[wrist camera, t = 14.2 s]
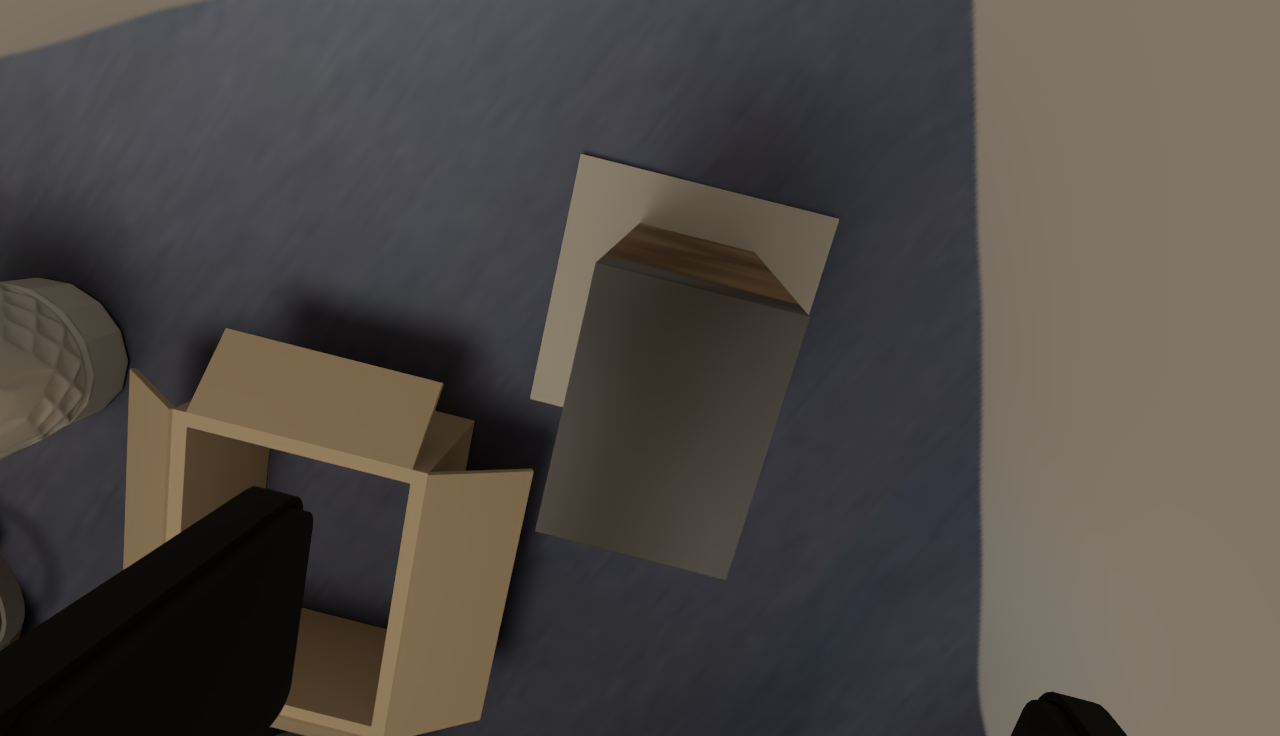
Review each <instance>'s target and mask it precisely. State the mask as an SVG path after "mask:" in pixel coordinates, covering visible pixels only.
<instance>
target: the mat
mask: <svg viewBox="0 0 1280 736" xmlns="http://www.w3.org/2000/svg"><path fill="white" fill-rule="evenodd" d="M838 222H839V219H838V218H834V217H830V216H826V215H822V214H818V213H814V212H810V211H806V210H802V209H798V208H794V207H790V206H786V205H782V204H778V203H774V202H770V201H766V200H762V199H758V198H754V197H750V196H747V195H743V194H739V193H735V192H731V191H727V190H723V189H719V188H715V187H711V186H707V185H703V184H699V183H695V182H691V181H687V180H683V179H679V178H675V177H671V176H667V175H663V174H659V173H655V172H651V171H647V170H643V169H640V168H636V167H632V166H628V165H624V164H620V163H616V162H612V161H608V160H604V159H600V158H596V157H592V156H588V155H584V154H581V156H580V161H579V165H578V170H577V175H576V180H575V185H574V190H573V194H572V199H571V204H570V209H569V214H568V218H567V223H566V228H565V233H564V238H563V242H562V247H561V252H560V257H559V262H558V267H557V271H556V276H555V281H554V286H553V291H552V295H551V300H550V305H549V310H548V315H547V319H546V324H545V329H544V334H543V339H542V344H541V348H540V353H539V358H538V363H537V368H536V372H535V377H534V382H533V387H532V392H531V397H530V399H533V400H537V401H541V402H545V403H548V404H552V405H556V406H560V407H563V405H564V401H565V396H566V392H567V387H568V383H569V378H570V374H571V370H572V365H573V361H574V356H575V352H576V347H577V343H578V339H579V334H580V330H581V325H582V321H583V316H584V312H585V308H586V303H587V299H588V294H589V290H590V285H591V281H592V276H593V272H594V268H595V263H596V262H597V261H598V260H599V259H600V258H601V257H602V256H603V255H605V254H606V253H607V252H608V251H609V250H610V249H611V248H612V247H613V246H615V245H616V244H617V243H618V242H619V241H620V240H621V239H622V238H623V237H625V236H626V235H627V234H628V233H629V232H630V231H631V230H632V229H633V228H635V227H636V226H637V225H638V224H639V223H642V224H646V225H650V226H654V227H658V228H662V229H666V230H670V231H674V232H678V233H681V234H685V235H689V236H693V237H697V238H701V239H705V240H709V241H713V242H717V243H721V244H725V245H728V246H732V247H736V248H740V249H744V250H748V251H752V252H755V253H756V254H757V255H758V257H759V258H760V259H761V260H762V261H763V262H764V264H765V265H766V266H767V267H768V268H769V269H770V271H771V272H772V273H773V274H774V275H775V276H776V278H777V279H778V280H779V281H780V282H781V283H782V285H783V286H784V287H785V288H786V289H787V290H788V292H789V293H790V294H791V295H792V296H793V297H794V299H795V300H796V301H797V302H798V303H799V305H800V306H801V307H802V308H803V309H804V310H805V312H806V313H807V314H808V315H809V313H810V310H811V307H812V304H813V301H814V298H815V294H816V291H817V288H818V285H819V282H820V279H821V276H822V272H823V269H824V266H825V263H826V260H827V257H828V254H829V250H830V247H831V244H832V241H833V238H834V235H835V232H836V228H837V225H838Z"/></svg>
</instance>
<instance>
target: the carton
mask: <svg viewBox="0 0 1280 736" xmlns="http://www.w3.org/2000/svg"><path fill="white" fill-rule="evenodd" d="M443 386H444V384H443V383H441V382H437V381H433V380H429V379H425V378H421V377H417V376H413V375H409V374H405V373H401V372H397V371H393V370H389V369H385V368H381V367H377V366H374V365H370V364H366V363H362V362H358V361H354V360H350V359H346V358H342V357H338V356H334V355H330V354H326V353H322V352H318V351H314V350H310V349H306V348H303V347H299V346H295V345H291V344H287V343H283V342H279V341H275V340H271V339H267V338H263V337H259V336H255V335H251V334H247V333H243V332H239V331H235V330H232V329H228V328H226V329H225V331H224V333H223V335H222V337H221V339H220V342H219V344H218V346H217V348H216V350H215V352H214V354H213V356H212V358H211V360H210V363H209V365H208V367H207V369H206V371H205V373H204V375H203V377H202V379H201V381H200V383H199V386H198V388H197V390H196V392H195V394H194V396H193V398H192V400H191V401H189V402H187V403H185V404H182V405H180V406H178V407H176V408H175V407H174V406H173V405H172V404H171V403H170V402H169V401H168V400H167V399H166V398H165V397H164V396H163V395H162V394H161V393H160V392H159V391H158V389H157V388H156V387H155V386H154V385H153V384H152V383H151V382H150V381H149V380H148V379H147V378H146V377H145V376H144V375H143V374H142V373H141V372H140V371H139V370H138V369H137V368H134V369H130V381H129V412H128V442H127V473H126V503H125V534H124V564H123V570H124V569H126V568H127V567H129V566H130V565H132V564H133V563H135V562H136V561H138V560H139V559H141V558H142V557H144V556H145V555H147V554H148V553H150V552H152V551H153V550H155V549H156V548H158V547H159V546H161V545H162V544H164V543H165V542H167V541H168V540H170V539H171V538H173V537H174V536H176V535H177V534H179V533H180V532H182V531H183V530H185V529H187V528H188V527H190V526H191V525H193V524H194V523H196V522H197V521H199V520H200V519H202V518H203V517H205V516H206V515H208V514H209V513H211V512H212V511H214V510H215V509H217V508H218V507H220V506H222V505H223V504H225V503H226V502H228V501H229V500H231V499H232V498H234V497H235V496H237V495H238V494H240V493H241V492H243V491H244V490H246V489H248V488H250V487H252V486H257V487H262V488H266V482H267V471H268V461H269V451H270V448H272V449H276V450H280V451H284V452H288V453H292V454H296V455H300V456H304V457H308V458H312V459H316V460H320V461H324V462H328V463H331V464H335V465H339V466H343V467H347V468H351V469H355V470H359V471H363V472H367V473H371V474H375V475H379V476H383V477H387V478H391V479H394V480H398V481H402V482H406V483H410V484H411V485H410V491H409V497H408V503H407V509H406V516H405V522H404V528H403V534H402V540H401V547H400V553H399V559H398V565H397V571H396V578H395V584H394V590H393V596H392V602H391V608H390V615H389V621H388V627H387V629H384V628H380V627H376V626H372V625H368V624H365V623H361V622H357V621H353V620H349V619H345V618H341V617H337V616H333V615H329V614H325V613H321V612H317V611H313V610H310V609H306V608H302V610H301V617H300V625H299V632H298V640H297V647H296V655H295V662H294V670H293V677H292V684H291V689H290V693H289V695H288V698H287V701H286V703H285V705H284V707H283V709H282V711H281V712H280V714H279V715H278V717H277V718H276V720H275V721H274V722H273V724H272V725H271V726H270V727H273V728H277V729H281V730H285V731H289V732H293V733H297V734H301V735H305V736H415V735H419V734H423V733H427V732H432V731H436V730H440V729H444V728H448V727H452V726H456V725H460V724H465V723H469V722H473V721H477V720H480V718H481V713H482V708H483V704H484V699H485V694H486V690H487V685H488V681H489V676H490V671H491V667H492V662H493V657H494V653H495V648H496V644H497V639H498V634H499V630H500V625H501V620H502V616H503V611H504V607H505V602H506V597H507V593H508V588H509V583H510V579H511V574H512V569H513V565H514V560H515V556H516V551H517V546H518V542H519V537H520V532H521V528H522V523H523V519H524V514H525V509H526V505H527V500H528V495H529V491H530V486H531V482H532V477H533V472H534V471H533V470H532V469H505V470H476V471H466V465H467V460H468V455H469V449H470V444H471V438H472V433H473V428H474V422H475V421H474V420H470V419H466V418H462V417H458V416H454V415H450V414H446V413H442V412H438V411H435V408H436V406H437V403H438V400H439V397H440V394H441V391H442V389H443Z"/></svg>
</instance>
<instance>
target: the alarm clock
mask: <svg viewBox="0 0 1280 736" xmlns="http://www.w3.org/2000/svg"><path fill="white" fill-rule="evenodd" d="M24 616H25V607H24V599H23V596H22V592H21V589H20V586H19V584H18V582H17V580H16V578H15V576H14V574H13V572H12V571H11V569H10V568H9V566H8V565H7V564H6V562H5V561H4V560H3V559H2V557H1V556H0V651H1V650H2V649H4V648H5V647H7V646H8V645H10V644H11V643H13V642H14V641H16V640H18V639H19V638H20V634H21V630H22V624H23V622H24Z"/></svg>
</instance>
